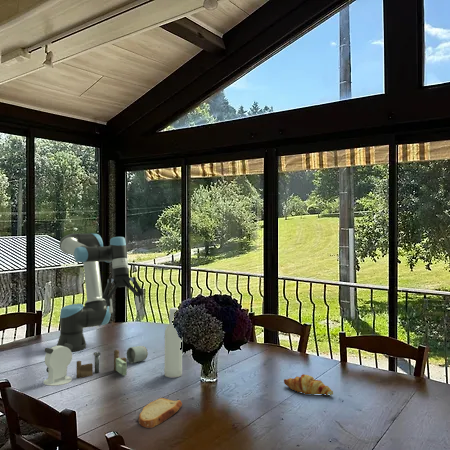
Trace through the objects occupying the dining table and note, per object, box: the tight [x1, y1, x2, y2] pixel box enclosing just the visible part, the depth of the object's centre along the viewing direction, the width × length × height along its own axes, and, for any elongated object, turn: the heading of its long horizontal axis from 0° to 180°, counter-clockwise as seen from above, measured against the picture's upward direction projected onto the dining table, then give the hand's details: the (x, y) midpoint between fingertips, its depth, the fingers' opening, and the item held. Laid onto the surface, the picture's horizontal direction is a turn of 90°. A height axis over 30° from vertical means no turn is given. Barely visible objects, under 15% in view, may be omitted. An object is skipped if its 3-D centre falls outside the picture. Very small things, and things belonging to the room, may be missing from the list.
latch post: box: [93, 351, 101, 374], centre depth 202 cm, size 2×2×9 cm
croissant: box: [283, 373, 334, 396], centre depth 181 cm, size 21×10×8 cm, turn 59°
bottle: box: [163, 307, 183, 379], centre depth 200 cm, size 8×8×30 cm
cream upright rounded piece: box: [43, 343, 73, 387], centre depth 191 cm, size 12×11×15 cm
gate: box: [115, 357, 128, 376], centre depth 201 cm, size 8×2×6 cm, turn 35°
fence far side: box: [76, 360, 94, 379], centre depth 197 cm, size 2×7×7 cm, turn 124°
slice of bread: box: [137, 397, 183, 429], centre depth 159 cm, size 18×18×4 cm
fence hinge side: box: [113, 349, 127, 372], centre depth 206 cm, size 2×6×10 cm, turn 125°
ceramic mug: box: [126, 345, 149, 364], centre depth 220 cm, size 11×8×8 cm
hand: (124, 311), depth 213 cm, fingers open, 13 cm apart
